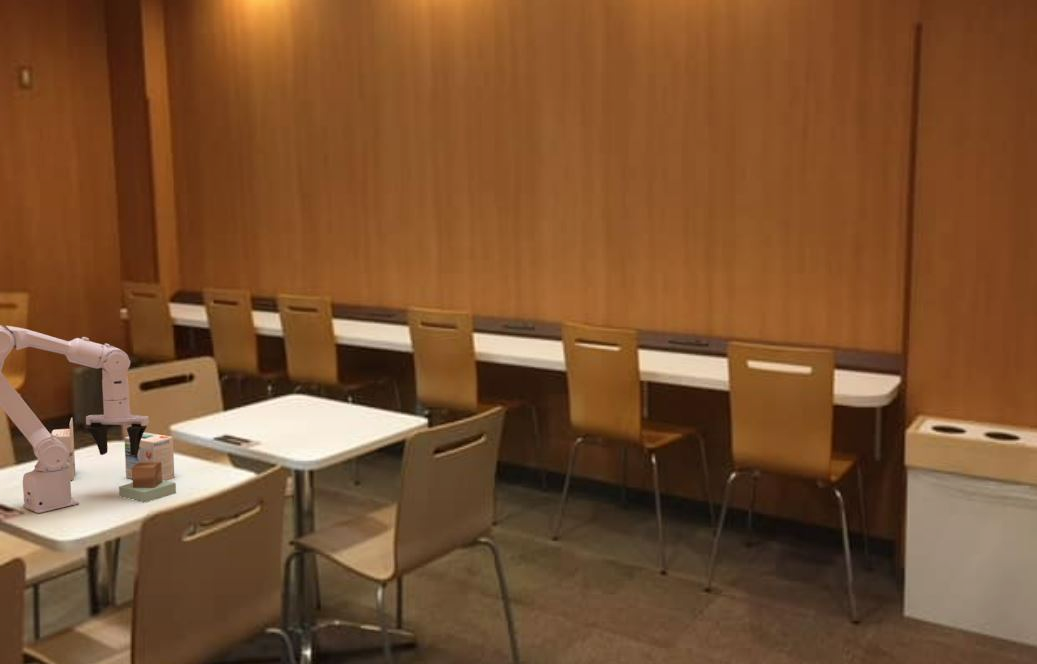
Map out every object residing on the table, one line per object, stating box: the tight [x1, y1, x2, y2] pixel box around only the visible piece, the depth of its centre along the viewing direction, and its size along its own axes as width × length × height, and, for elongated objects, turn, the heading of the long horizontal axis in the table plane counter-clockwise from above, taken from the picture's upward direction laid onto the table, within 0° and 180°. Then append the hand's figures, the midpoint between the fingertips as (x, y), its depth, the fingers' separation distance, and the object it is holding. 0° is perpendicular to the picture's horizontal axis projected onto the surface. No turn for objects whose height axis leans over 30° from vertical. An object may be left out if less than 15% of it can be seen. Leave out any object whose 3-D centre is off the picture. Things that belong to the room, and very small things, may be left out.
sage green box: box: [118, 480, 177, 503], centre depth 227 cm, size 9×9×3 cm
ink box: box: [51, 417, 76, 481], centre depth 241 cm, size 9×5×15 cm, turn 22°
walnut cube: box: [132, 462, 162, 488], centre depth 227 cm, size 5×5×5 cm
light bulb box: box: [124, 431, 176, 481], centre depth 241 cm, size 11×7×11 cm, turn 62°
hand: (119, 454), depth 226 cm, fingers open, 7 cm apart
